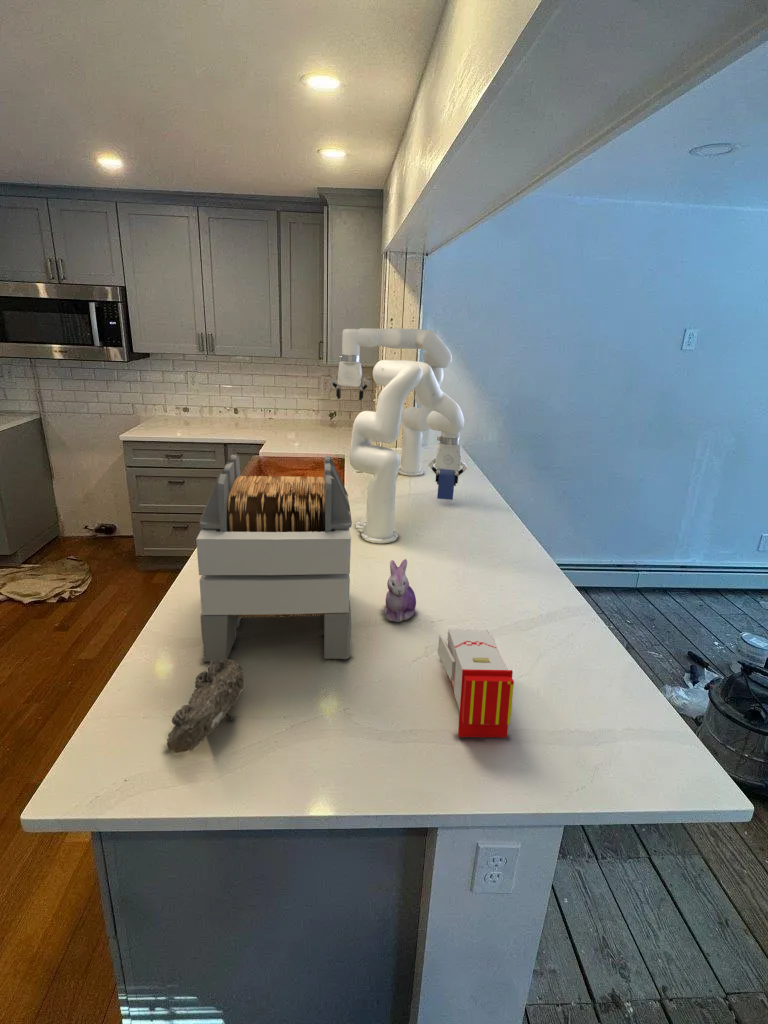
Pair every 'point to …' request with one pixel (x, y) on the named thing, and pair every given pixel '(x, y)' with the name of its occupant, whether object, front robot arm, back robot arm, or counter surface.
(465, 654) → the toy
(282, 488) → the record crate
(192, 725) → the fossil
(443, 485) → the block
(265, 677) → the counter surface
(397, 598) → the figurine
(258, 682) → the counter surface
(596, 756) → the counter surface
